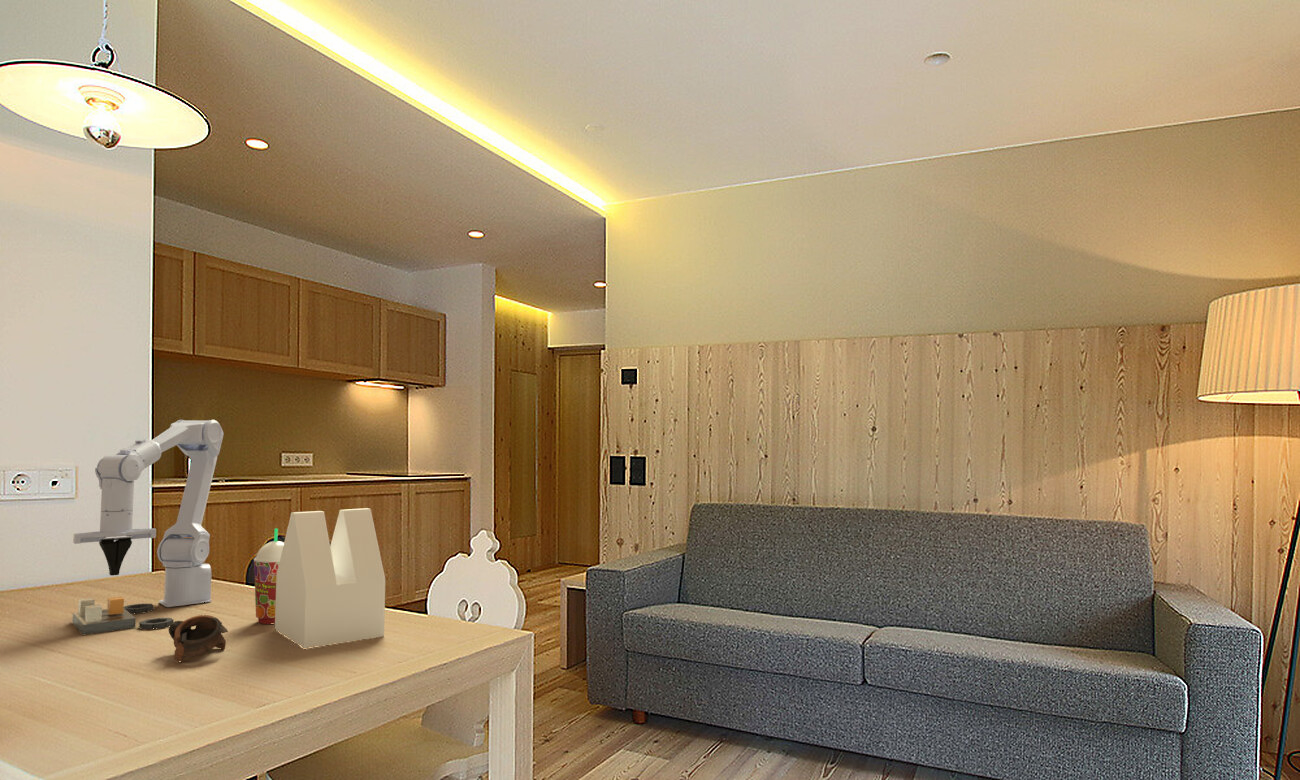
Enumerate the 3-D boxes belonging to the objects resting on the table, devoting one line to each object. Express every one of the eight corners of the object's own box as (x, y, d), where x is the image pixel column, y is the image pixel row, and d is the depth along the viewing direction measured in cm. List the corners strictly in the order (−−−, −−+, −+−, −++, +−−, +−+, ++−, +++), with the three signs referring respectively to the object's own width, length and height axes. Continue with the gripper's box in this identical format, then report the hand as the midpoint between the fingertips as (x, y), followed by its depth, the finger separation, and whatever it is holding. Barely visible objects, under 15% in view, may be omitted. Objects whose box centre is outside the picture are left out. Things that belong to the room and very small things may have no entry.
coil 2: (168, 621, 168) (169, 616, 168) (175, 626, 164) (175, 621, 164) (137, 626, 164) (137, 620, 164) (143, 631, 160) (143, 625, 160)
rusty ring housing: (242, 651, 148) (238, 618, 144) (202, 687, 139) (197, 653, 136) (189, 632, 150) (184, 599, 146) (147, 666, 142) (140, 632, 138)
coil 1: (149, 607, 182) (149, 602, 182) (155, 611, 178) (155, 606, 178) (120, 611, 178) (120, 606, 178) (125, 615, 174) (125, 610, 174)
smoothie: (242, 623, 167) (245, 529, 168) (274, 615, 174) (277, 525, 176) (271, 627, 164) (274, 531, 165) (303, 619, 171) (305, 527, 172)
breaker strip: (122, 616, 173) (123, 593, 173) (135, 627, 163) (136, 603, 163) (72, 622, 167) (73, 599, 167) (82, 635, 157) (83, 609, 157)
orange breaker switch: (120, 610, 168) (121, 596, 169) (123, 613, 166) (123, 598, 166) (107, 612, 167) (107, 598, 167) (109, 614, 165) (110, 600, 165)
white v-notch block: (384, 636, 157) (386, 512, 159) (304, 650, 147) (308, 516, 148) (349, 619, 172) (352, 505, 173) (274, 630, 162) (278, 509, 163)
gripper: (78, 514, 160) (75, 581, 159) (160, 509, 169) (157, 573, 169) (73, 511, 165) (70, 576, 164) (153, 507, 175) (150, 568, 174)
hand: (114, 574), depth 167 cm, fingers closed
